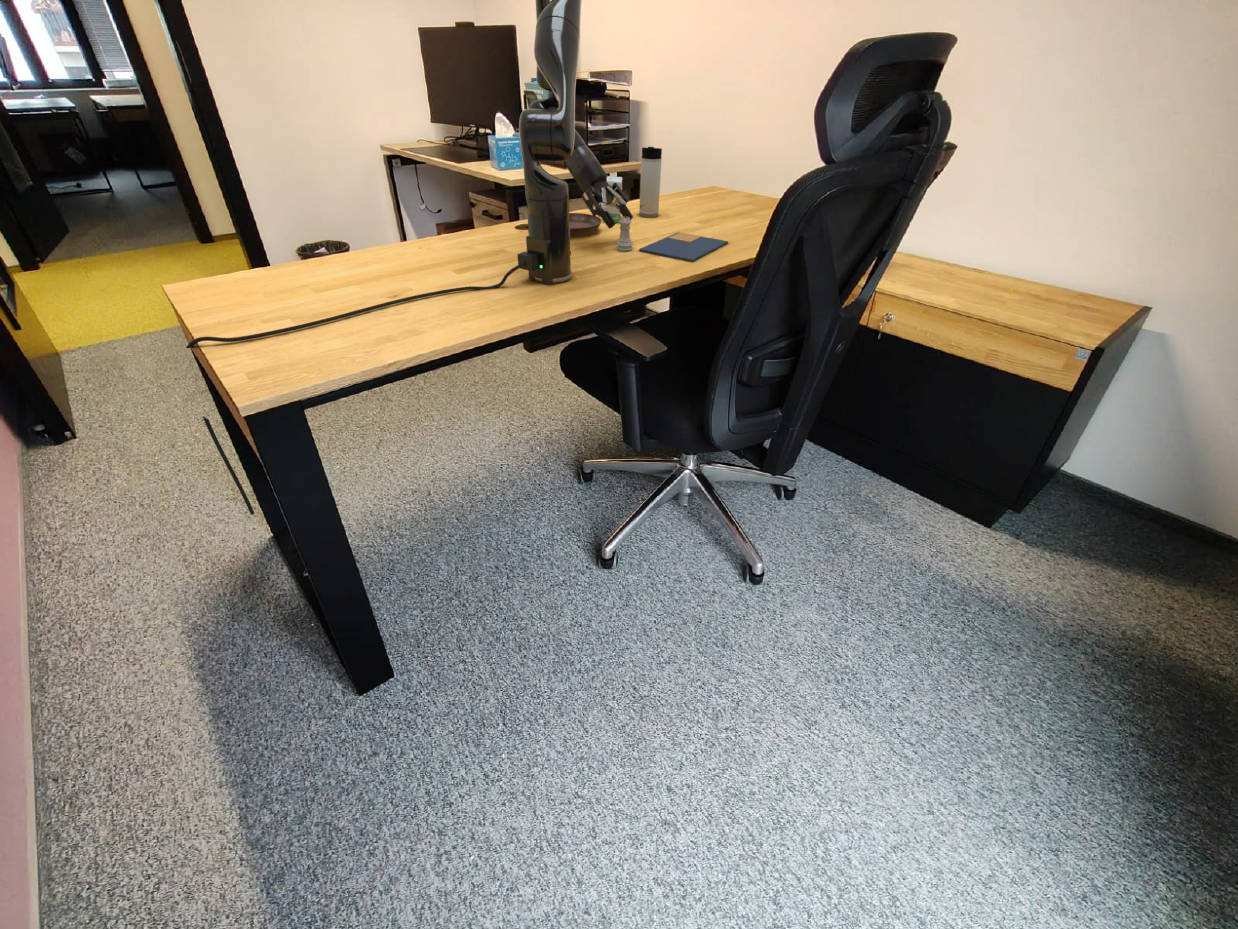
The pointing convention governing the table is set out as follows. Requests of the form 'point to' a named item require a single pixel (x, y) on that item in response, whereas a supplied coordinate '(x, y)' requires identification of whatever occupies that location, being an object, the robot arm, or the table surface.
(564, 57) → the robot arm
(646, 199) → the travel mug
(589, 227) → the plant saucer
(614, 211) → the ink box
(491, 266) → the table surface
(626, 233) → the rook chess piece
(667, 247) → the desk mat
